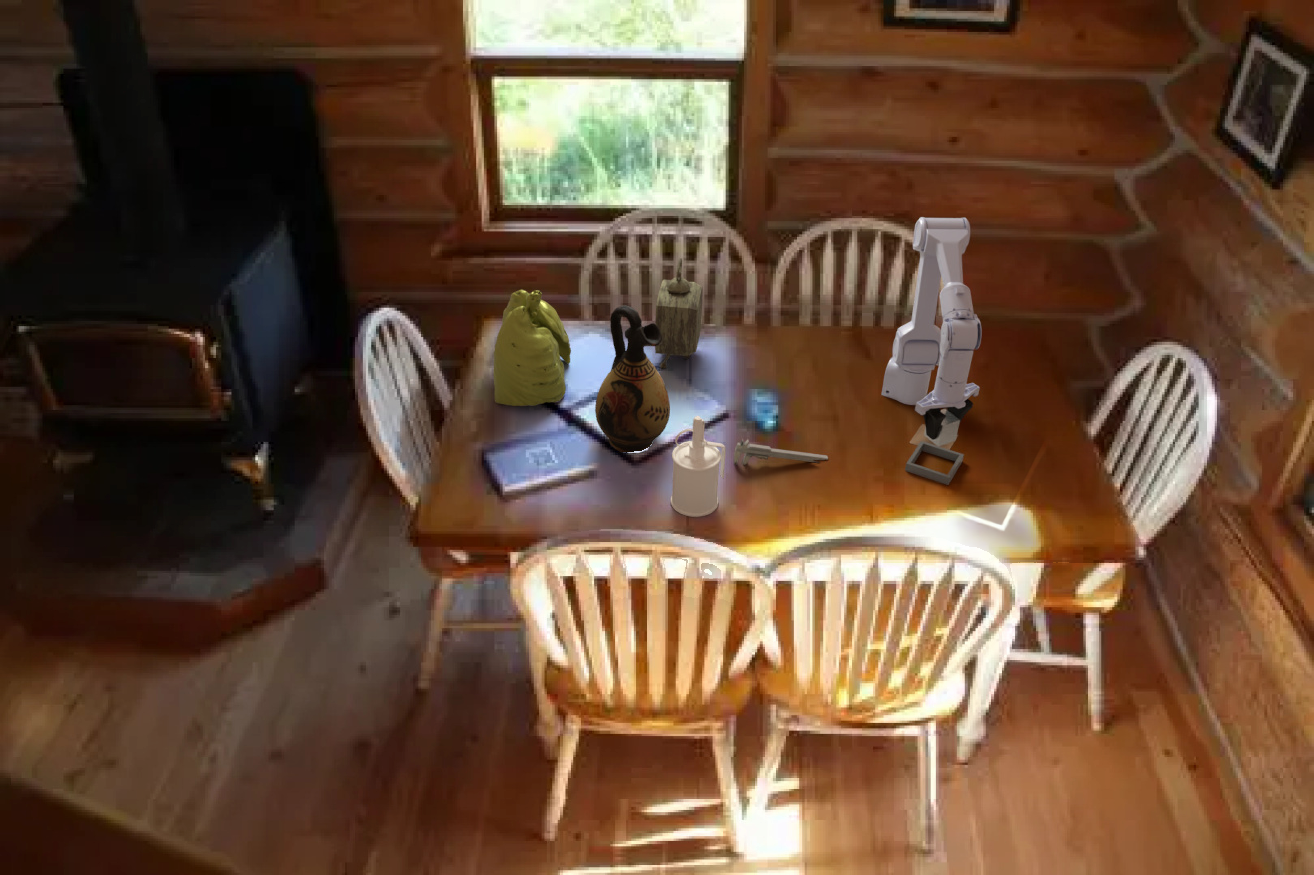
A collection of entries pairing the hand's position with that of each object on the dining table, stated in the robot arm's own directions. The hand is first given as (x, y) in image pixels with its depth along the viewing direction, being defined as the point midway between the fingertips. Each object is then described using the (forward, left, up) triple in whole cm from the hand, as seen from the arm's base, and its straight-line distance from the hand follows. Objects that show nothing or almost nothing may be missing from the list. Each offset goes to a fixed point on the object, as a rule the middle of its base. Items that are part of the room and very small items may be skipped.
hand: (940, 433), depth 220 cm
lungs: (-87, -16, -9) cm, 89 cm away
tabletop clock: (-65, +10, -9) cm, 66 cm away
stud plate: (-3, +9, -9) cm, 13 cm away
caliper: (-27, -14, -9) cm, 32 cm away
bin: (0, 0, -9) cm, 9 cm away
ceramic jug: (-58, -23, -9) cm, 63 cm away
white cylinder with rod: (-36, -34, -9) cm, 50 cm away
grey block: (0, 0, -1) cm, 1 cm away
